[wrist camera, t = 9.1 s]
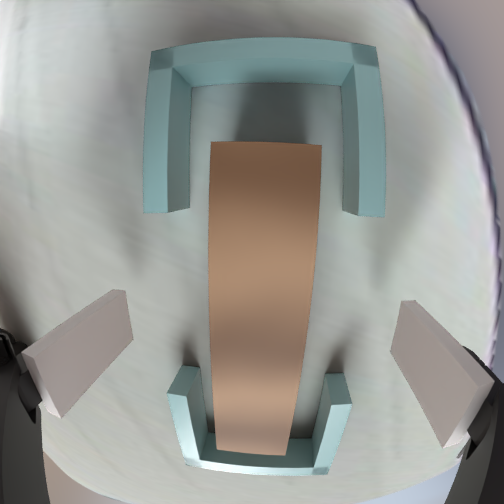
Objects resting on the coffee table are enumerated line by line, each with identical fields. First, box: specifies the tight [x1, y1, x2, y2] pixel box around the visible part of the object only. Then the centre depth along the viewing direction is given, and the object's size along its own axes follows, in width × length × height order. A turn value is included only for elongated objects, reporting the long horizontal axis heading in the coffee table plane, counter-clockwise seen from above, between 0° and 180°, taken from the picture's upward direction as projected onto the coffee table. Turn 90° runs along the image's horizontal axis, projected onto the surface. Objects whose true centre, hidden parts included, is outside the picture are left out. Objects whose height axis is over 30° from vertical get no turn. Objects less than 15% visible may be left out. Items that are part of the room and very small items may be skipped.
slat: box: [208, 142, 322, 456], centre depth 13 cm, size 16×4×4 cm, turn 178°
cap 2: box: [167, 365, 352, 476], centre depth 16 cm, size 8×10×3 cm
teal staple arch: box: [143, 37, 386, 217], centre depth 12 cm, size 8×10×3 cm
